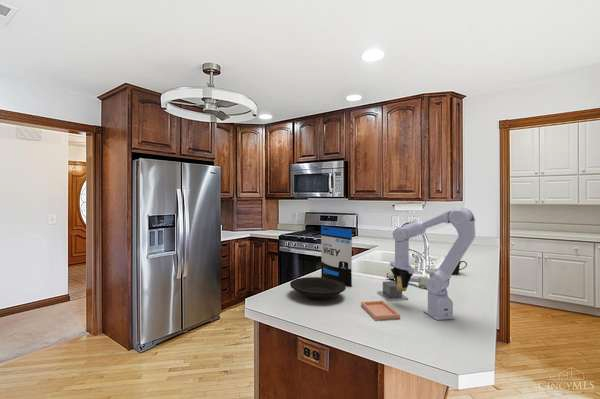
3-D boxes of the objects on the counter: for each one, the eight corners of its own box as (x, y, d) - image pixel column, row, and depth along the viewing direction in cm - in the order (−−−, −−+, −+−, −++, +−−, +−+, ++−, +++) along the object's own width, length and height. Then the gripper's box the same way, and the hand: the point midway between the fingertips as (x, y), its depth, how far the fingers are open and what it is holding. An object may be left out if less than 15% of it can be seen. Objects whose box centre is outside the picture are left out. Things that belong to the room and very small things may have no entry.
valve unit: (408, 299, 142) (408, 286, 142) (387, 301, 141) (387, 288, 141) (395, 291, 155) (395, 279, 154) (376, 292, 153) (376, 280, 153)
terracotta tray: (400, 319, 120) (400, 314, 120) (375, 320, 119) (375, 316, 119) (382, 304, 136) (382, 300, 136) (361, 306, 135) (361, 301, 135)
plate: (279, 295, 150) (279, 283, 149) (312, 285, 166) (312, 274, 166) (323, 310, 130) (323, 297, 130) (356, 297, 147) (356, 285, 147)
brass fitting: (408, 290, 134) (408, 277, 133) (399, 291, 133) (399, 277, 133) (403, 288, 137) (403, 274, 137) (395, 288, 137) (395, 275, 137)
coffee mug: (441, 272, 192) (441, 256, 192) (452, 271, 194) (453, 255, 194) (456, 277, 181) (456, 260, 180) (468, 276, 183) (468, 259, 183)
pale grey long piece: (390, 271, 180) (431, 274, 160) (392, 283, 179) (433, 287, 160) (385, 273, 177) (426, 275, 157) (386, 285, 176) (428, 289, 157)
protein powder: (327, 276, 185) (327, 225, 184) (357, 285, 165) (357, 229, 165) (315, 278, 179) (315, 226, 179) (345, 288, 160) (345, 230, 159)
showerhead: (435, 266, 178) (447, 270, 169) (434, 278, 178) (447, 283, 169) (420, 267, 176) (432, 271, 166) (420, 279, 176) (432, 284, 166)
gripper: (420, 257, 129) (420, 290, 129) (399, 251, 143) (399, 281, 143) (406, 258, 127) (406, 291, 127) (386, 252, 141) (386, 282, 141)
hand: (401, 286), depth 135 cm, fingers closed on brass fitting, 4 cm apart
